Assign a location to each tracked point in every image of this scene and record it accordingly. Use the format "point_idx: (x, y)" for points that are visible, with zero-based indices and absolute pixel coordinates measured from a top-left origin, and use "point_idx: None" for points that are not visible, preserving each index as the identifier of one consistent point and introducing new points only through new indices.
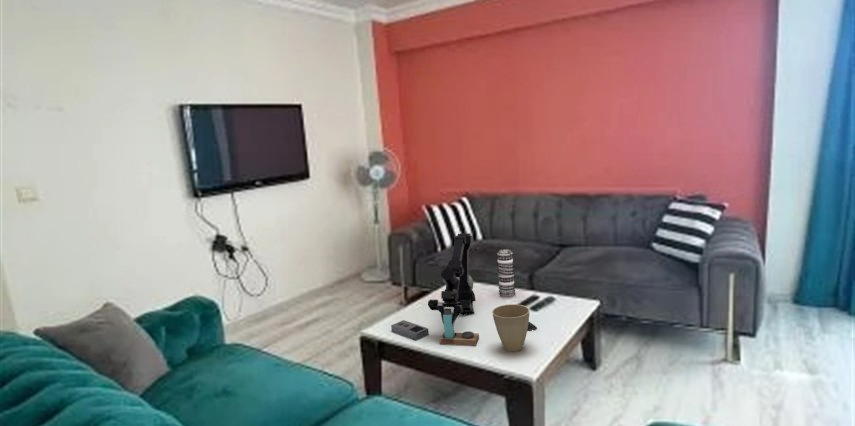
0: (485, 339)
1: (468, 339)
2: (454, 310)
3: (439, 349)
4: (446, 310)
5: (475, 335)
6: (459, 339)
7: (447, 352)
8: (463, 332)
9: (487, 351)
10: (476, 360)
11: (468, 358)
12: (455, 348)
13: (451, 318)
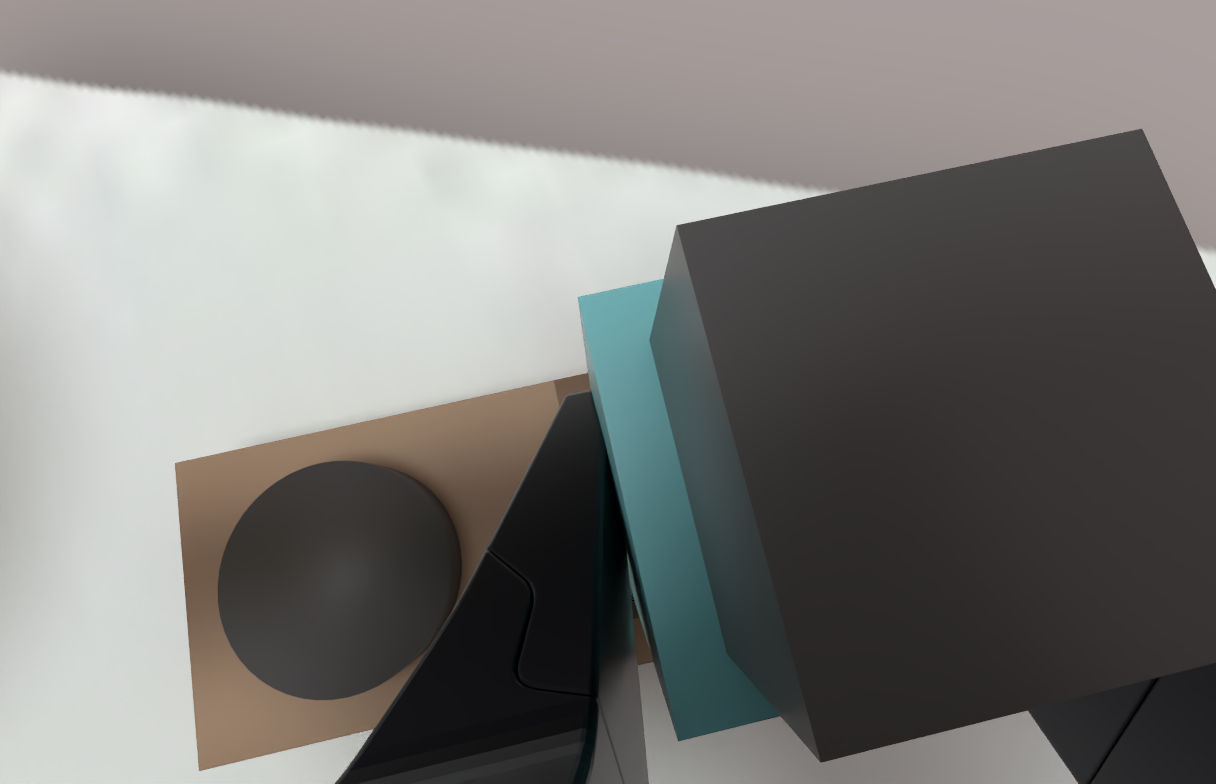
0: (158, 746)
1: (307, 458)
2: (518, 763)
3: (689, 220)
4: (958, 201)
5: (235, 656)
6: (456, 411)
7: (548, 179)
8: (439, 608)
9: (35, 365)
10: (118, 108)
11: (229, 122)
12: (495, 311)
13: (595, 392)
